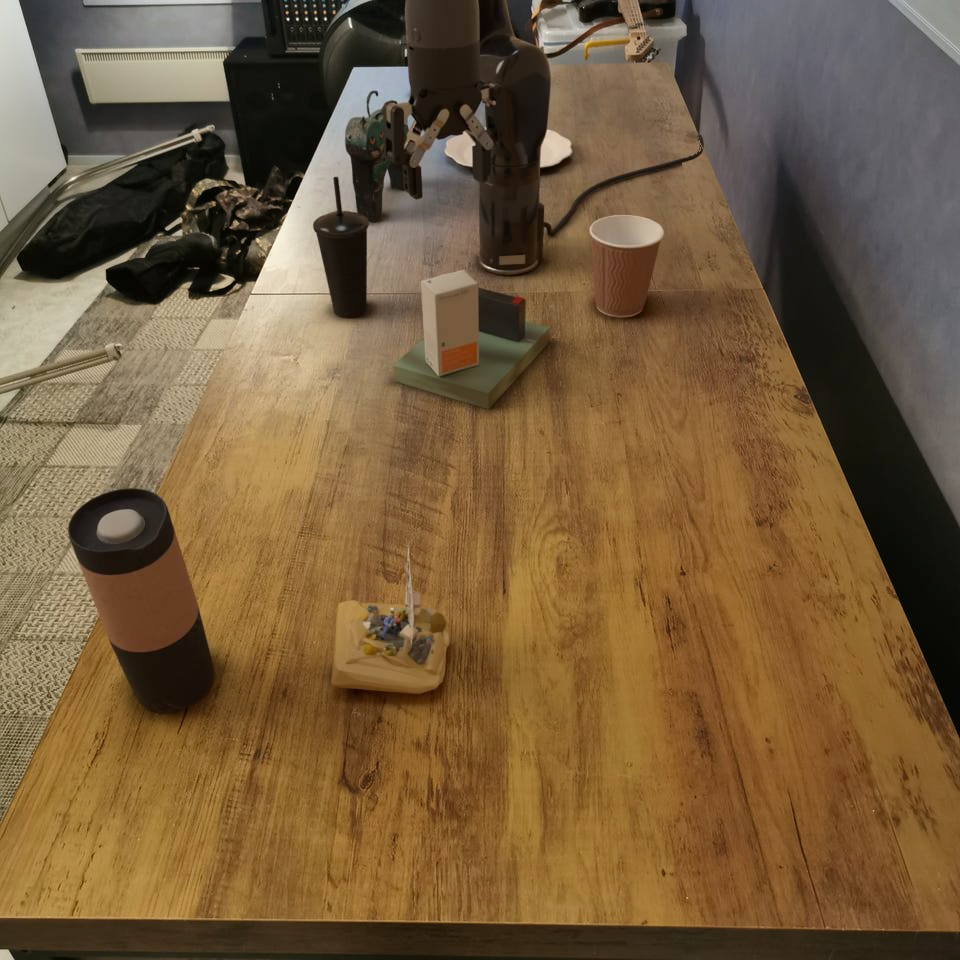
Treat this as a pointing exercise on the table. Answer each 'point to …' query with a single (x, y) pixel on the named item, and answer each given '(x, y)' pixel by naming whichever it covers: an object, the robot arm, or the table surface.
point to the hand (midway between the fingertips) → (448, 188)
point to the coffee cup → (623, 262)
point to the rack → (476, 368)
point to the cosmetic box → (450, 322)
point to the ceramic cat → (371, 161)
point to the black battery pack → (501, 314)
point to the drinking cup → (344, 257)
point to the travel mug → (144, 596)
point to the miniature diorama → (390, 645)
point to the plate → (551, 155)
